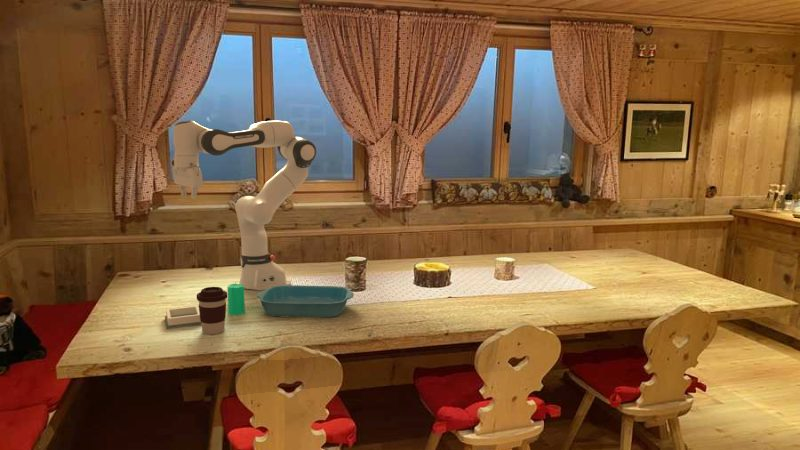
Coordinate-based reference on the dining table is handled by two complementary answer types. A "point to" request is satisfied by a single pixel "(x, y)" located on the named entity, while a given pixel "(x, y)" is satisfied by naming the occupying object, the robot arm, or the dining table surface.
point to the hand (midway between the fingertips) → (188, 197)
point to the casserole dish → (305, 300)
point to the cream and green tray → (182, 317)
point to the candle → (236, 299)
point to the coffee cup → (212, 309)
